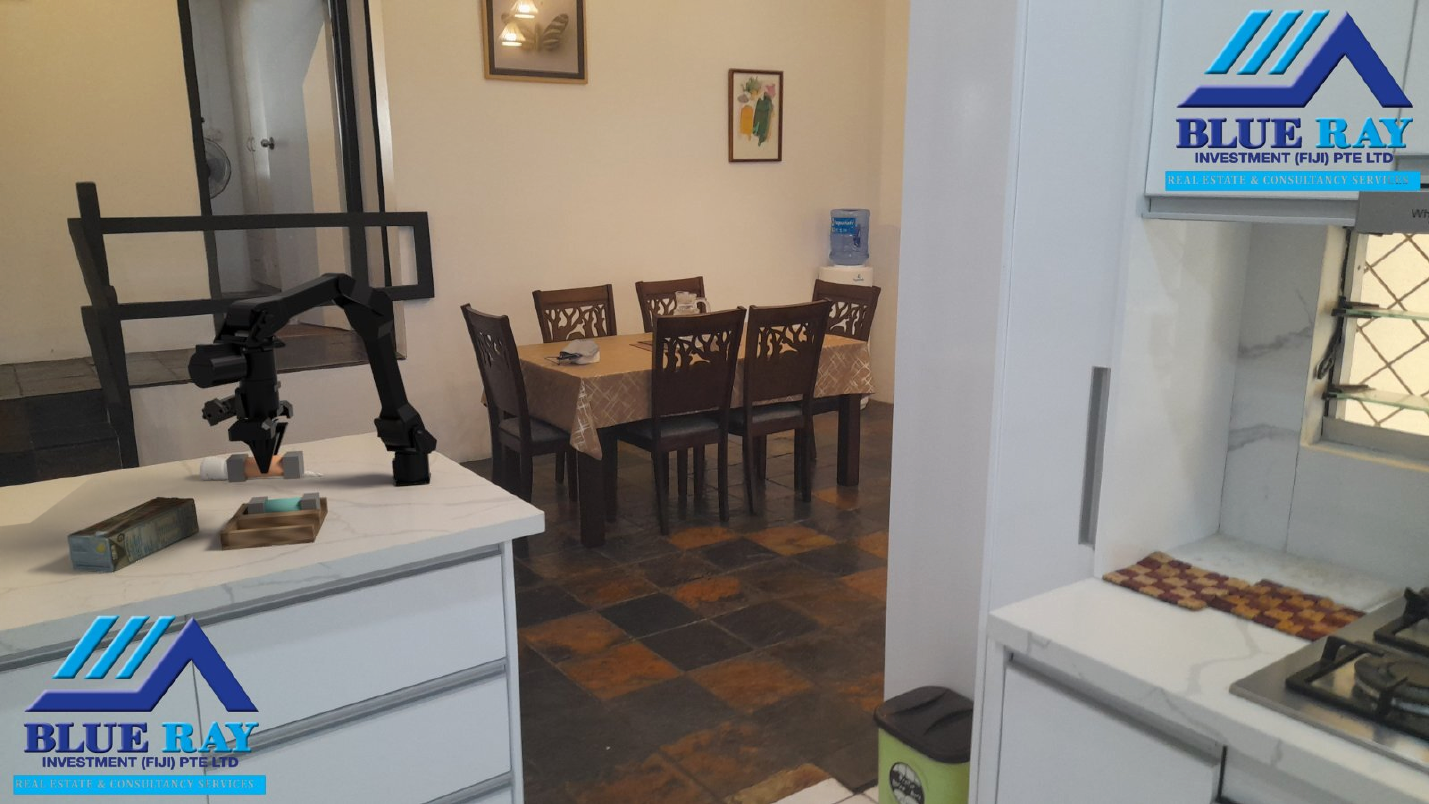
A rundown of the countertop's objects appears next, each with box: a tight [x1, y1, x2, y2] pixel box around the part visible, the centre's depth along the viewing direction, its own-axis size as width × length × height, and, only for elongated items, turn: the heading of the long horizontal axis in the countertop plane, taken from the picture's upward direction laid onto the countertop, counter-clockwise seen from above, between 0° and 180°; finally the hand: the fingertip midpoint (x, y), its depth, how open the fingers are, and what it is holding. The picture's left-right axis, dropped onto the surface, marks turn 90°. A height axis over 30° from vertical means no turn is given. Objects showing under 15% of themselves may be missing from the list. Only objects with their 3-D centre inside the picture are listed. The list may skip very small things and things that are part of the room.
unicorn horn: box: [199, 456, 324, 481], centre depth 195 cm, size 5×24×5 cm, turn 89°
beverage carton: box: [66, 496, 200, 573], centre depth 156 cm, size 8×19×7 cm, turn 168°
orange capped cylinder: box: [225, 450, 305, 484], centre depth 160 cm, size 11×4×4 cm, turn 103°
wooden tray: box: [219, 496, 329, 551], centre depth 164 cm, size 14×16×3 cm
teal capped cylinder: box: [247, 492, 321, 515], centre depth 168 cm, size 11×4×4 cm, turn 104°
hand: (267, 470), depth 160 cm, fingers closed on orange capped cylinder, 3 cm apart
